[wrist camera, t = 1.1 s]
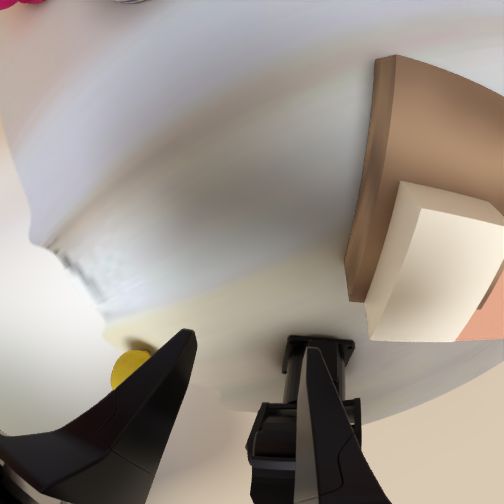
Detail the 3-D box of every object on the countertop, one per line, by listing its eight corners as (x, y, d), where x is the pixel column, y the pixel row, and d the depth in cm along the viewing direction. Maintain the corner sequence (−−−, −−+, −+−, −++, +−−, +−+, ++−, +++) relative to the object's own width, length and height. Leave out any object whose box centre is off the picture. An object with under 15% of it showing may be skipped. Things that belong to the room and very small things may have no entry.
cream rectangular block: (441, 307, 16) (454, 341, 13) (364, 302, 16) (369, 340, 14) (488, 201, 11) (516, 229, 9) (400, 180, 12) (421, 208, 9)
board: (463, 275, 18) (480, 309, 15) (344, 262, 20) (349, 301, 17) (514, 111, 10) (549, 125, 7) (375, 59, 12) (396, 54, 8)
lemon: (172, 366, 33) (151, 418, 27) (138, 359, 34) (115, 407, 28) (157, 340, 30) (130, 397, 24) (121, 334, 31) (92, 384, 25)
